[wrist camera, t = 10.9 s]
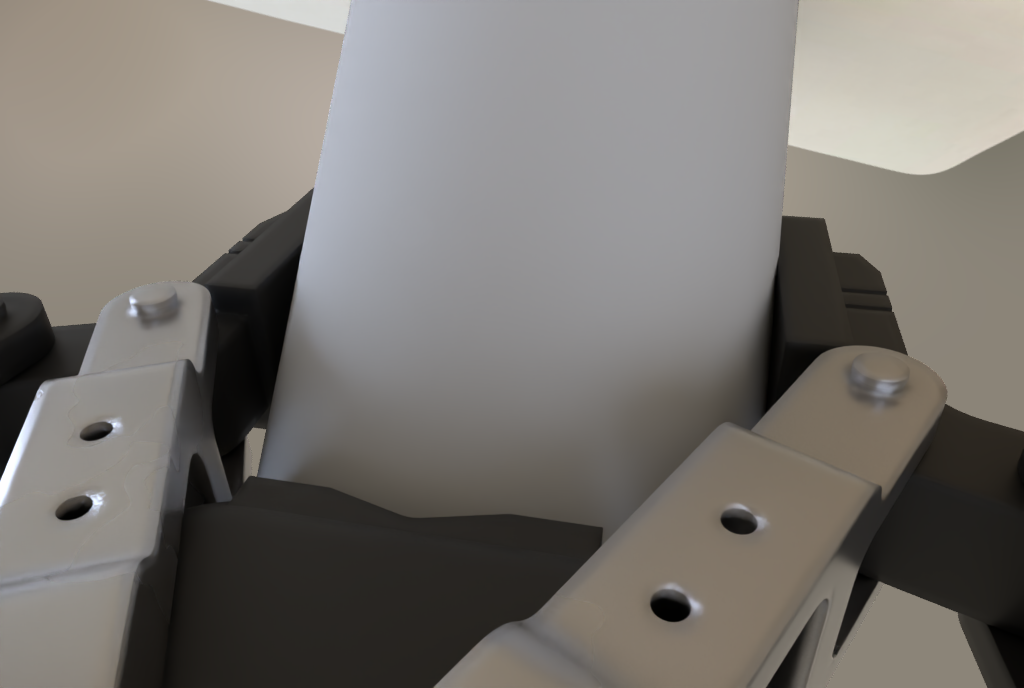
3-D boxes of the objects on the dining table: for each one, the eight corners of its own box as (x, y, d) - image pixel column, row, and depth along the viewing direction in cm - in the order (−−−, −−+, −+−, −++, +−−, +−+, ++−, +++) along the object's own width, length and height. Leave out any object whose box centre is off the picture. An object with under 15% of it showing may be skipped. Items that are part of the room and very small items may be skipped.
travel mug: (950, -490, 11) (880, 1131, 8) (665, -174, 17) (544, 833, 14) (579, -856, 9) (188, 1334, 5) (391, -338, 15) (144, 855, 11)
